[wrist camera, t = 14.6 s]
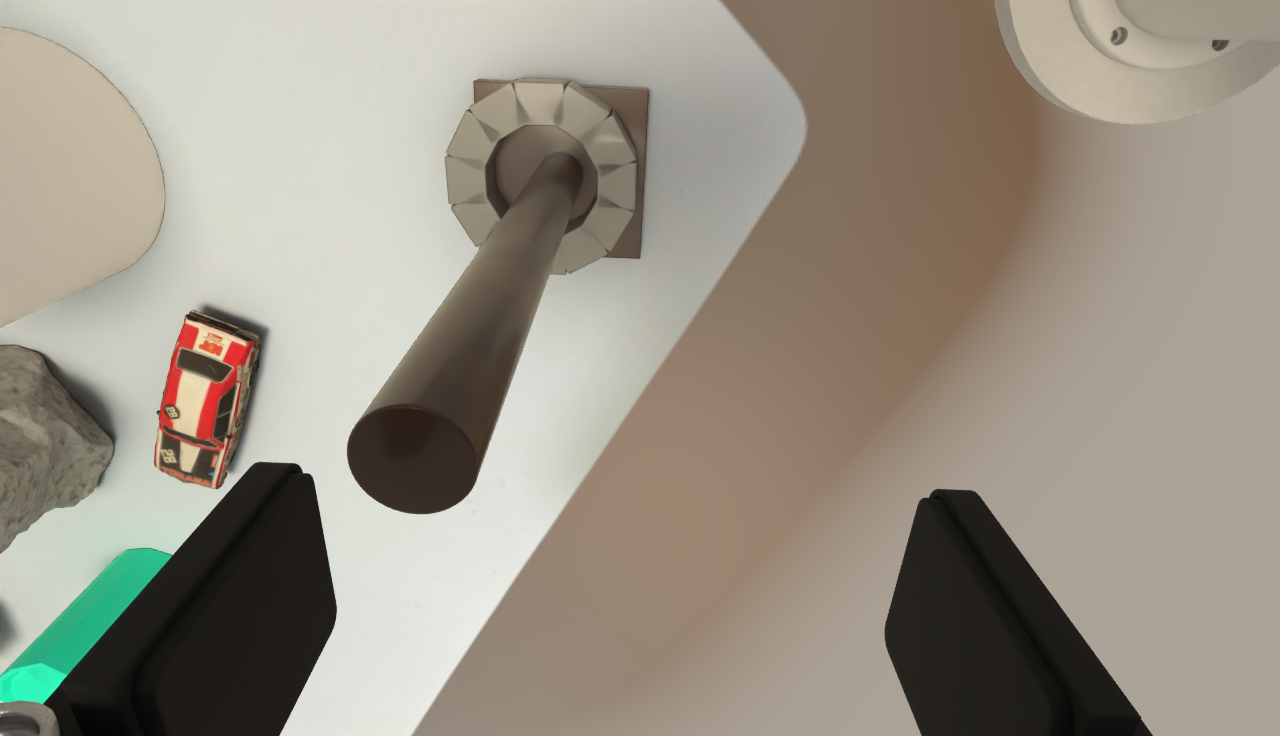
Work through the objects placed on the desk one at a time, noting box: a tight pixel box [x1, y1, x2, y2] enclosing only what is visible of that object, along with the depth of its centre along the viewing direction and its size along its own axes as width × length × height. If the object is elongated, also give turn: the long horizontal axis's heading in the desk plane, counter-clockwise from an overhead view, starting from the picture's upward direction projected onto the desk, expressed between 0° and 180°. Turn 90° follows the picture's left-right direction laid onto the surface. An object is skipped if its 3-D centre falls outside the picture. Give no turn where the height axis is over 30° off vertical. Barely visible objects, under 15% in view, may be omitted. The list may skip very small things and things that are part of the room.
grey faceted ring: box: [445, 78, 637, 275], centre depth 37 cm, size 10×10×3 cm
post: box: [347, 79, 649, 514], centre depth 26 cm, size 9×9×29 cm
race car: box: [154, 310, 261, 489], centre depth 44 cm, size 5×12×5 cm, turn 151°
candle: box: [0, 548, 172, 704], centre depth 47 cm, size 6×6×12 cm
